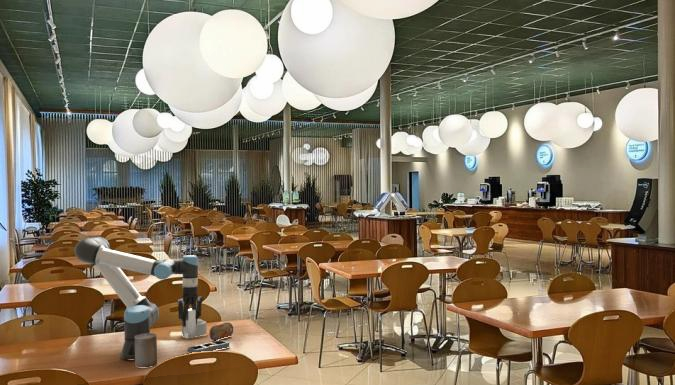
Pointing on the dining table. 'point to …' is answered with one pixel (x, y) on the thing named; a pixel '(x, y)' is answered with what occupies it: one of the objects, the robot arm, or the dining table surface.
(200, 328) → the lumpy-topped squat cylinder
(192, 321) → the zinc square peg
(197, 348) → the grey compartment tray
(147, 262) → the robot arm
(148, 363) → the pillar candle
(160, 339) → the dining table surface
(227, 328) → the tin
